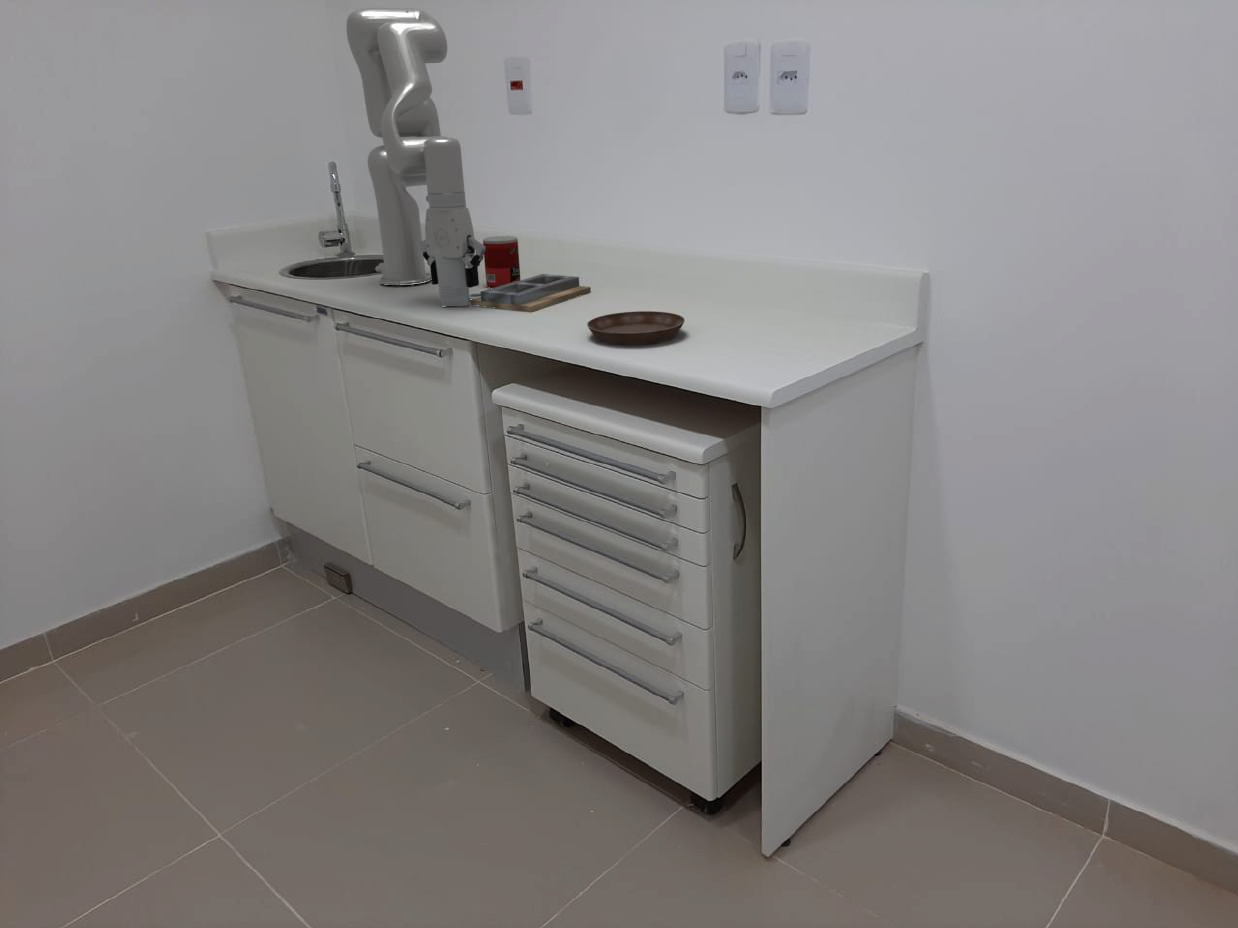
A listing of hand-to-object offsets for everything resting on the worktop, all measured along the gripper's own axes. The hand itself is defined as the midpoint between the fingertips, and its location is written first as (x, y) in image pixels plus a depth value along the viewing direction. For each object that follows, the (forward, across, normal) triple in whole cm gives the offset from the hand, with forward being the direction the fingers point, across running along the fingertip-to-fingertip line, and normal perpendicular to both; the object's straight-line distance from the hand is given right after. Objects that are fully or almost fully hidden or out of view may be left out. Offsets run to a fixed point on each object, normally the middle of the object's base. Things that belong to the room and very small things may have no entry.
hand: (455, 285), depth 204 cm
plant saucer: (+6, +49, -7) cm, 49 cm away
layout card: (+4, -1, +10) cm, 11 cm away
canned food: (+4, -4, +21) cm, 22 cm away
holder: (+4, +11, +12) cm, 17 cm away
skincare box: (+5, -1, 0) cm, 5 cm away
